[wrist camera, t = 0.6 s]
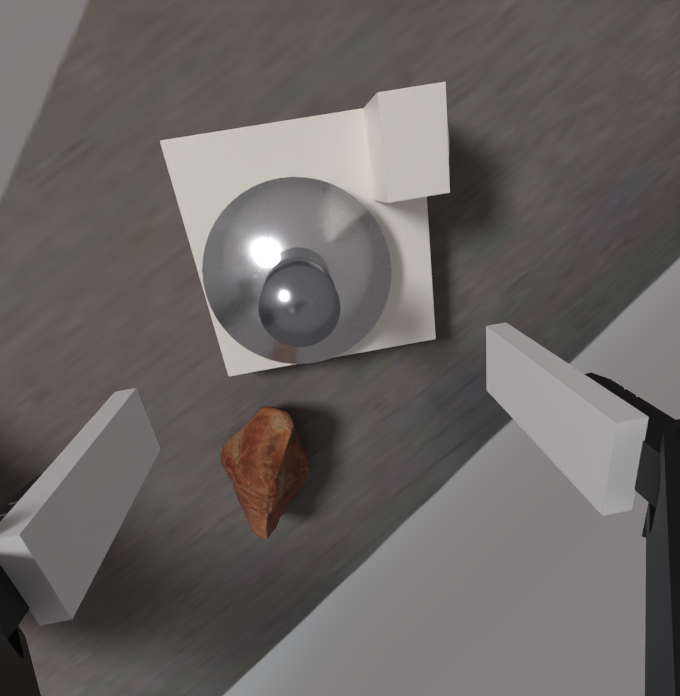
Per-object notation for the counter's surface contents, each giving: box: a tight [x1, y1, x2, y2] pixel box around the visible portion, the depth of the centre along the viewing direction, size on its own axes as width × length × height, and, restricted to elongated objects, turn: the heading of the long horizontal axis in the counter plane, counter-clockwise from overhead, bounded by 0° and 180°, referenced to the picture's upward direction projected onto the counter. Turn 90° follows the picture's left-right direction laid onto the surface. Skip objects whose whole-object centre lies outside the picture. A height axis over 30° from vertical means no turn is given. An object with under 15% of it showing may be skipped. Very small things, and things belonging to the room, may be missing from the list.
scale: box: [160, 82, 450, 376], centre depth 30 cm, size 18×18×8 cm
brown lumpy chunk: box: [221, 406, 309, 539], centre depth 38 cm, size 13×8×10 cm
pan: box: [202, 177, 391, 364], centre depth 31 cm, size 14×14×2 cm
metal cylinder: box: [258, 247, 341, 347], centre depth 26 cm, size 5×5×8 cm
